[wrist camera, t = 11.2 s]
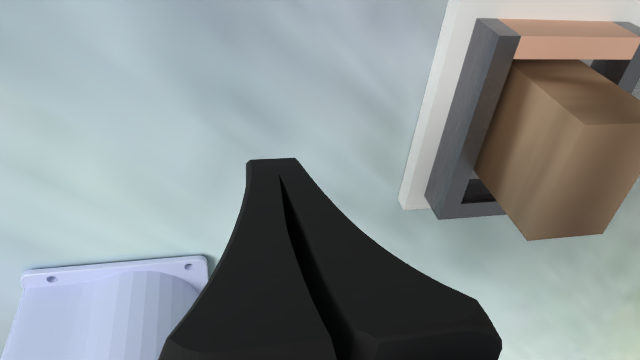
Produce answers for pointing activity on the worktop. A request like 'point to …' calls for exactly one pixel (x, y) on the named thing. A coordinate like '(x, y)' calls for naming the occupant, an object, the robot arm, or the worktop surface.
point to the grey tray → (502, 84)
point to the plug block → (560, 148)
